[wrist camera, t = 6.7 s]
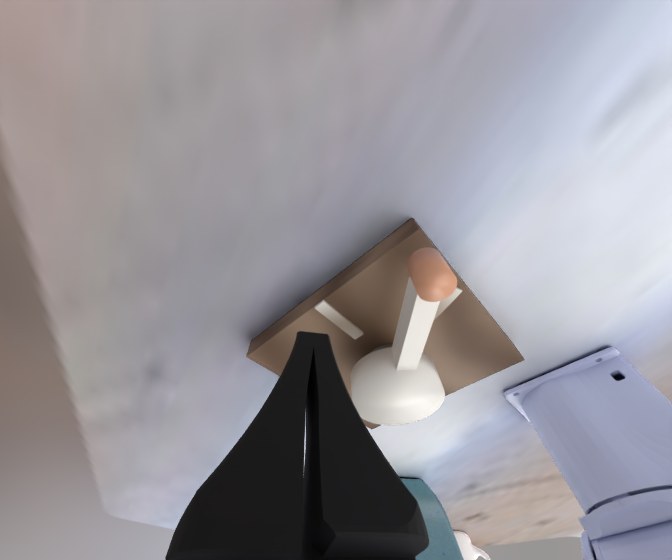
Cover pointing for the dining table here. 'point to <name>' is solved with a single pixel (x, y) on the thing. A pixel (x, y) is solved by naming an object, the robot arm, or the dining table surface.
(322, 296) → the strip board
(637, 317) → the dining table surface
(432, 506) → the flower pot
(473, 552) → the mug
